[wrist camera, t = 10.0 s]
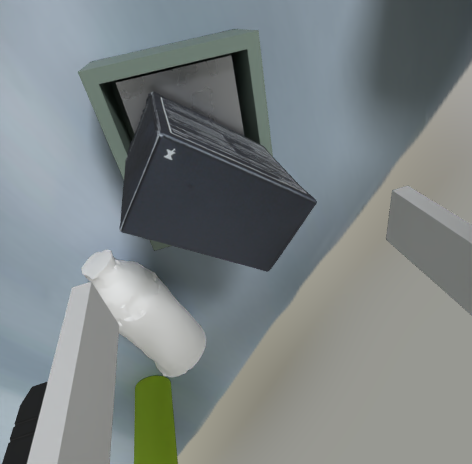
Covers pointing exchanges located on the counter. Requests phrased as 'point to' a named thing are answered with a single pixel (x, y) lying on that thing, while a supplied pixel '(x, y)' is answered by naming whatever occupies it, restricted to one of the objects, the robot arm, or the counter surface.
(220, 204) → the small box
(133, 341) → the white bottle
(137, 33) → the counter surface
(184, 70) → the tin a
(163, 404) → the soap dispenser
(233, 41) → the box
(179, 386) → the counter surface
